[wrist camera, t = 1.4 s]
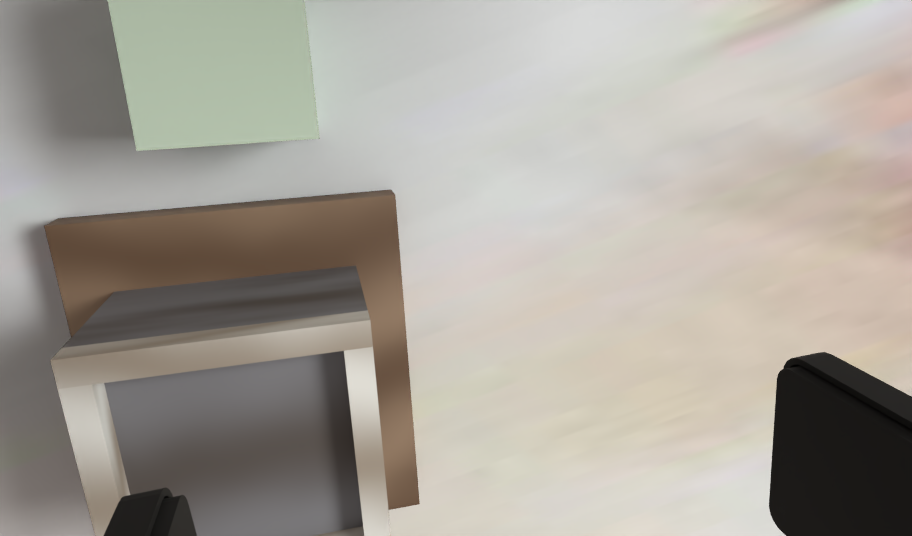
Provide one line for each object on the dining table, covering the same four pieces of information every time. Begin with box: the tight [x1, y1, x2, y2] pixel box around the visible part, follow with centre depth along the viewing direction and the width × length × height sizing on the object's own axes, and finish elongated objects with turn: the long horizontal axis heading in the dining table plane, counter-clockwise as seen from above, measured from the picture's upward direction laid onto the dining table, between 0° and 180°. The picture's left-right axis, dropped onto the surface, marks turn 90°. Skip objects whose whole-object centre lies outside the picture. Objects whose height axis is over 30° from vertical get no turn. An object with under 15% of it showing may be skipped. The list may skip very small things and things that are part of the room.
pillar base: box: [44, 190, 419, 536], centre depth 26 cm, size 16×14×8 cm
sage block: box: [107, 0, 320, 151], centre depth 24 cm, size 6×6×6 cm
